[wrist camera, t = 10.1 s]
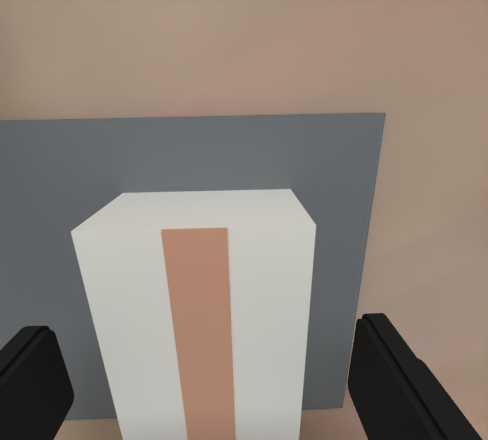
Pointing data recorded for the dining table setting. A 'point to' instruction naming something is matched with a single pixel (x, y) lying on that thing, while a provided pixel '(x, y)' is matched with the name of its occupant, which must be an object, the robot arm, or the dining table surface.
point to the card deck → (201, 311)
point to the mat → (178, 180)
